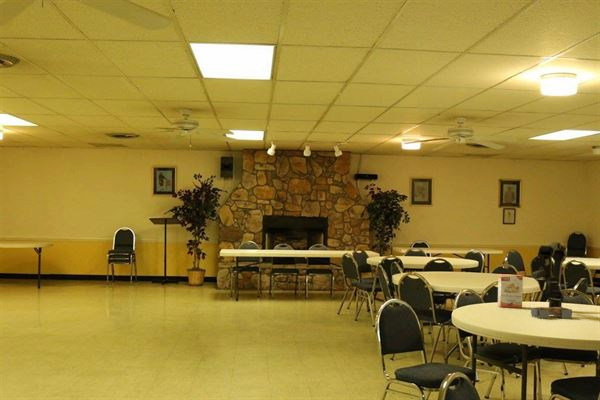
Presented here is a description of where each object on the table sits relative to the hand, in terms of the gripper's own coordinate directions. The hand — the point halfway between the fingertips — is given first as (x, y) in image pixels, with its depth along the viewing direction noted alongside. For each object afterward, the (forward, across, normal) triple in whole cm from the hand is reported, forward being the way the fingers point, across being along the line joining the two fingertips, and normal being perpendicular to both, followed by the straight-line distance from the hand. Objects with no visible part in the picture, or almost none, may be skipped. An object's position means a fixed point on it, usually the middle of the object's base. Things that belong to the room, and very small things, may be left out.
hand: (546, 292), depth 337 cm
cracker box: (+13, -24, -10) cm, 29 cm away
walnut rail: (+11, +12, -4) cm, 17 cm away
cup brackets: (+13, +12, -4) cm, 18 cm away
